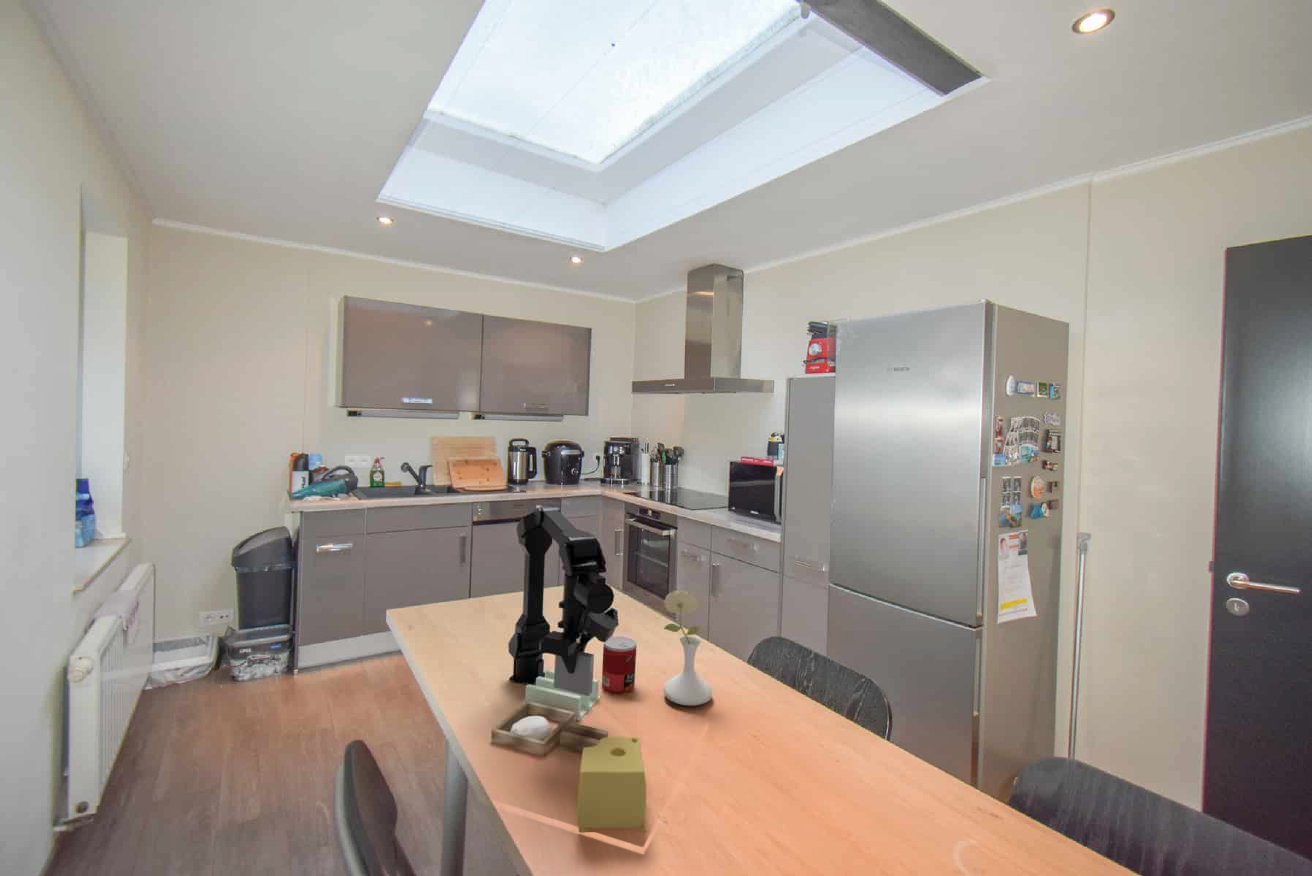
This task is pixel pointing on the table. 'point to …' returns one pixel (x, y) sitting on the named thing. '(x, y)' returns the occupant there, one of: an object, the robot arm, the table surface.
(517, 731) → the garlic
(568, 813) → the table surface
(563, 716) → the garlic trivet frame
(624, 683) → the canned food
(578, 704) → the dish rack
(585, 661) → the plate
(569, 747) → the plate stand
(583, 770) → the cheese
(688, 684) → the flower in vase
